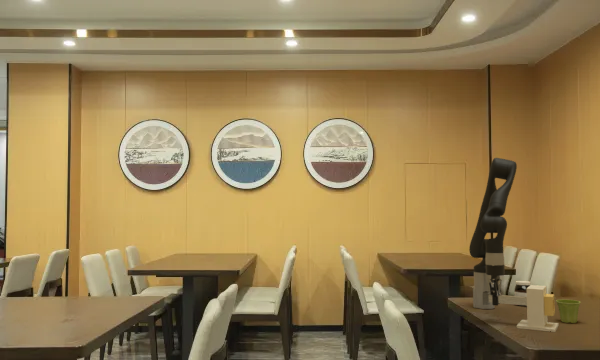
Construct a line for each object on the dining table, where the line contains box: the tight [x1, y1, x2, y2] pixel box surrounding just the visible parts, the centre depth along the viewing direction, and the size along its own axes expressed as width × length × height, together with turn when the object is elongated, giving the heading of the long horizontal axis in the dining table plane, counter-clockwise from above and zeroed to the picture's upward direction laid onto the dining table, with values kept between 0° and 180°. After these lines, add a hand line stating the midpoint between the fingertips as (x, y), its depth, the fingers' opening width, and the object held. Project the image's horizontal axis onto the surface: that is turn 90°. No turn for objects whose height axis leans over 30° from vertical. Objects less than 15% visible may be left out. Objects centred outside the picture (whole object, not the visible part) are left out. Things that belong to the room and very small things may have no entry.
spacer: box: [544, 293, 556, 317], centre depth 213 cm, size 3×8×8 cm, turn 149°
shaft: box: [483, 291, 527, 306], centre depth 221 cm, size 24×5×5 cm, turn 59°
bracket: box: [516, 284, 559, 333], centre depth 216 cm, size 14×13×16 cm
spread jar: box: [513, 280, 531, 307], centre depth 263 cm, size 12×11×12 cm
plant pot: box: [555, 299, 581, 324], centre depth 225 cm, size 9×9×9 cm
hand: (496, 304), depth 224 cm, fingers closed on shaft, 3 cm apart
